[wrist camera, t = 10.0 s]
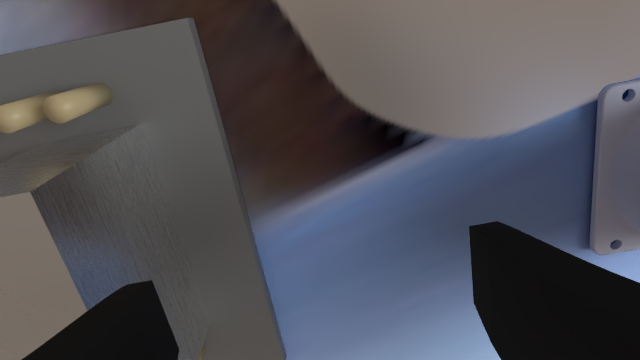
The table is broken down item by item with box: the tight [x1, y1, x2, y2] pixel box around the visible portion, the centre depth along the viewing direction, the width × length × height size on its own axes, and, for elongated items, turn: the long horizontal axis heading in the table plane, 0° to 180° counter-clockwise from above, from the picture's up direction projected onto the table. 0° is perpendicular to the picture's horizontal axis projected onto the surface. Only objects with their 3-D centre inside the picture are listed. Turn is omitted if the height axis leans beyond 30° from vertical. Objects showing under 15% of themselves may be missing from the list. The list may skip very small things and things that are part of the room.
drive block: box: [0, 124, 210, 360], centre depth 15 cm, size 4×10×7 cm, turn 11°
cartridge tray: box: [0, 18, 286, 360], centre depth 18 cm, size 10×17×4 cm, turn 10°
